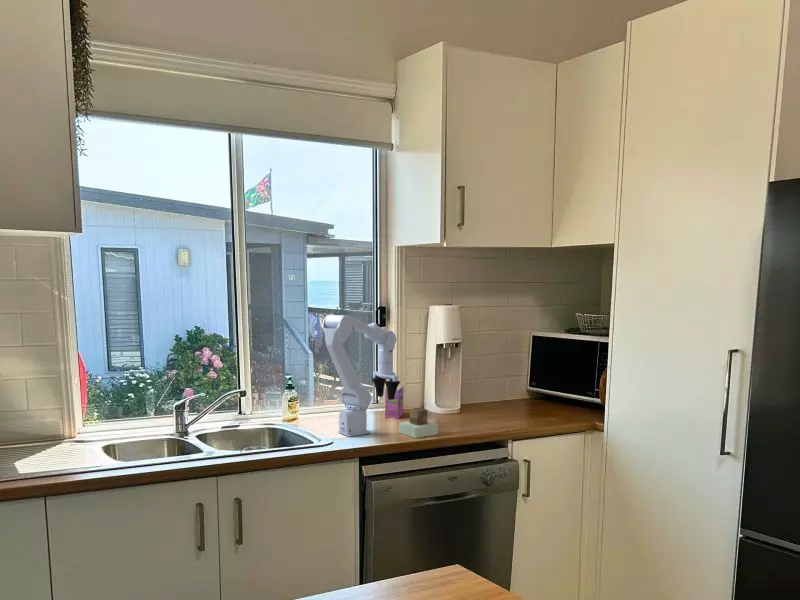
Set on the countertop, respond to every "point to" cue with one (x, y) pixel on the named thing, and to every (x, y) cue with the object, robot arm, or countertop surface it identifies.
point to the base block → (418, 429)
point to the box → (394, 404)
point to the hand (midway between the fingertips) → (385, 397)
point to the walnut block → (418, 416)
